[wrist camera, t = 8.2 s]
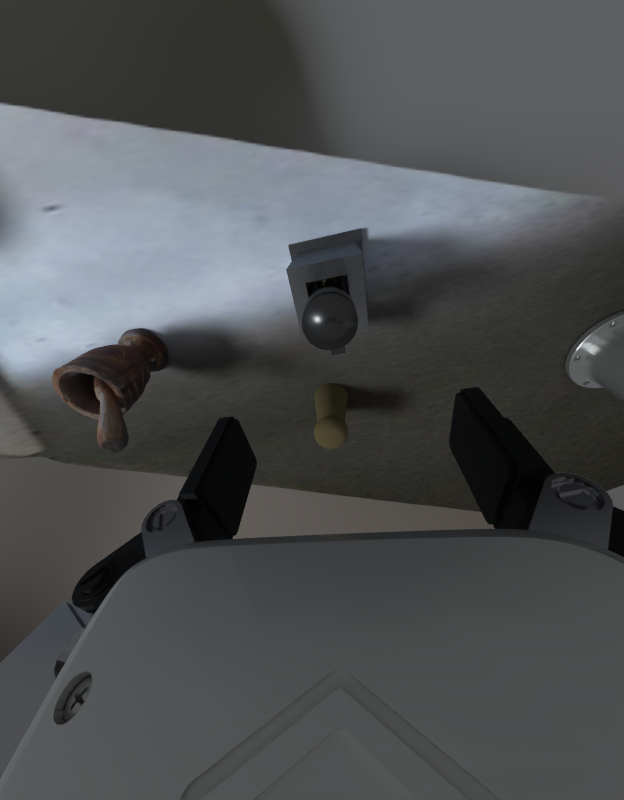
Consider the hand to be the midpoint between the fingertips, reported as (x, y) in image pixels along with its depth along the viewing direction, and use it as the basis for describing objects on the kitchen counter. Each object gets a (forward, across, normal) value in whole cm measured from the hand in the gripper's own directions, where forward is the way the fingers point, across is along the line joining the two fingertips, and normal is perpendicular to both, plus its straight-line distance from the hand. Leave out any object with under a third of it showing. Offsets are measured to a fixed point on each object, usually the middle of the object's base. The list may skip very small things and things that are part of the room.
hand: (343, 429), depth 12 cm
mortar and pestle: (+30, +31, +6) cm, 43 cm away
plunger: (+26, +1, -1) cm, 26 cm away
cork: (+30, +4, +19) cm, 36 cm away
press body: (+30, +1, 0) cm, 30 cm away
